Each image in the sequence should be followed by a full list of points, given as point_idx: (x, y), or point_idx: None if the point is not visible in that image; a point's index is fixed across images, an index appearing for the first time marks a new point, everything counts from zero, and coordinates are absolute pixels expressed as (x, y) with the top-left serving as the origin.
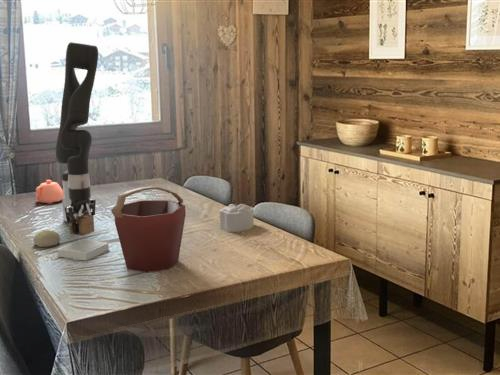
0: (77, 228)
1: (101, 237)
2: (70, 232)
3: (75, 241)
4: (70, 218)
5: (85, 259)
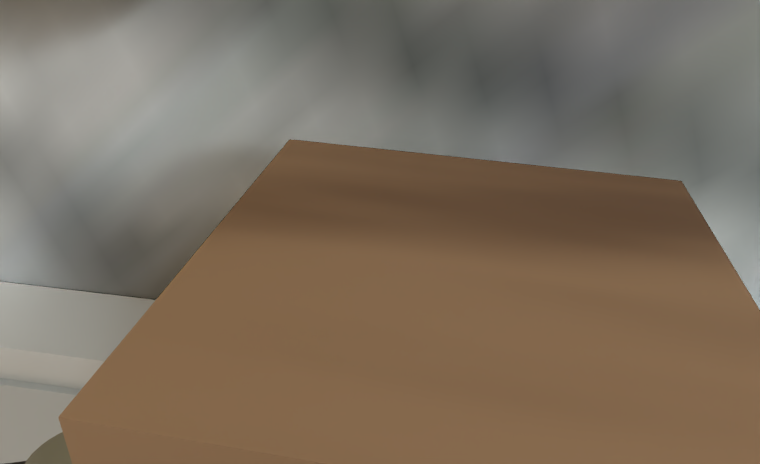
0: None
1: None
2: (283, 158)
3: None
4: (88, 451)
5: None
